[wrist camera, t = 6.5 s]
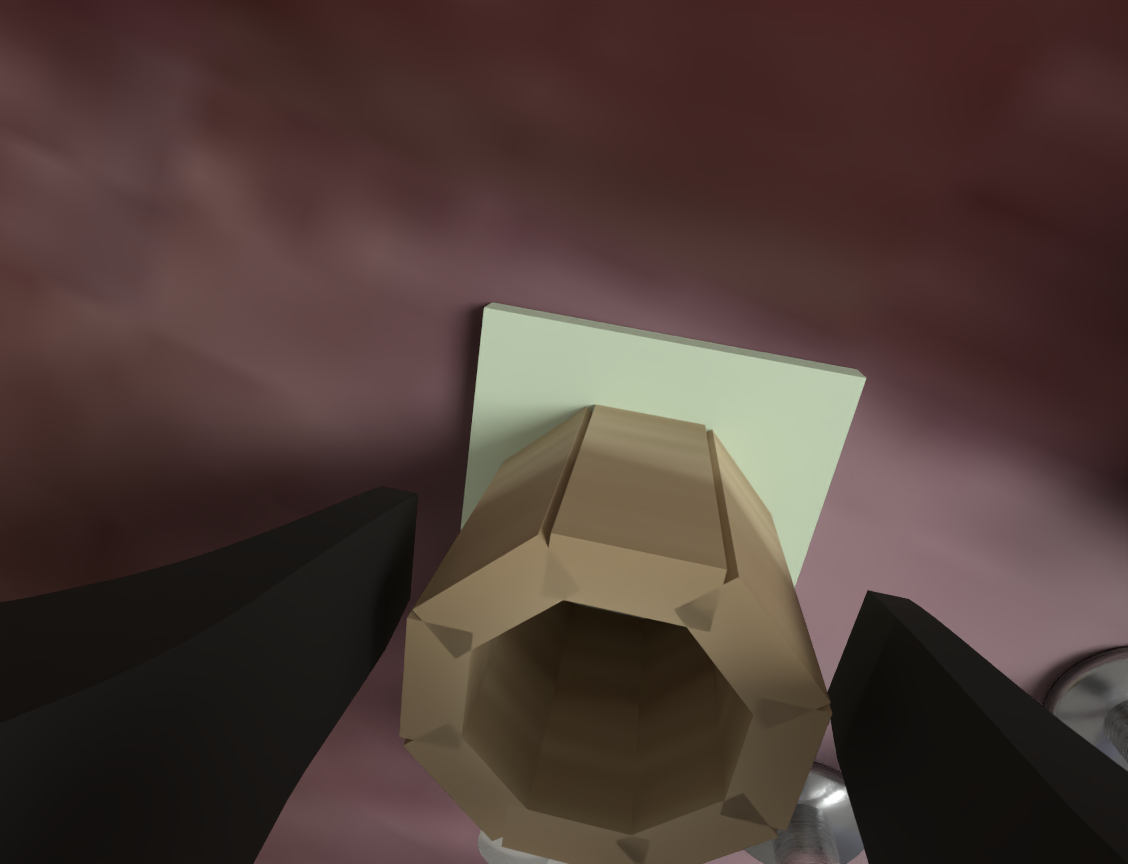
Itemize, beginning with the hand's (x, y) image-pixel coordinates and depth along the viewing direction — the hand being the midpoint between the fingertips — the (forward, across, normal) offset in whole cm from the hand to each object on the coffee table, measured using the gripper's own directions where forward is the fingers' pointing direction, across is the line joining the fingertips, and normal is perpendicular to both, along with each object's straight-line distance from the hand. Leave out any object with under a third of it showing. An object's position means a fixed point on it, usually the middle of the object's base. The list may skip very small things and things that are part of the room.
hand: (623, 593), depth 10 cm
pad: (+3, 0, 0) cm, 3 cm away
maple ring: (+3, 0, +1) cm, 3 cm away
